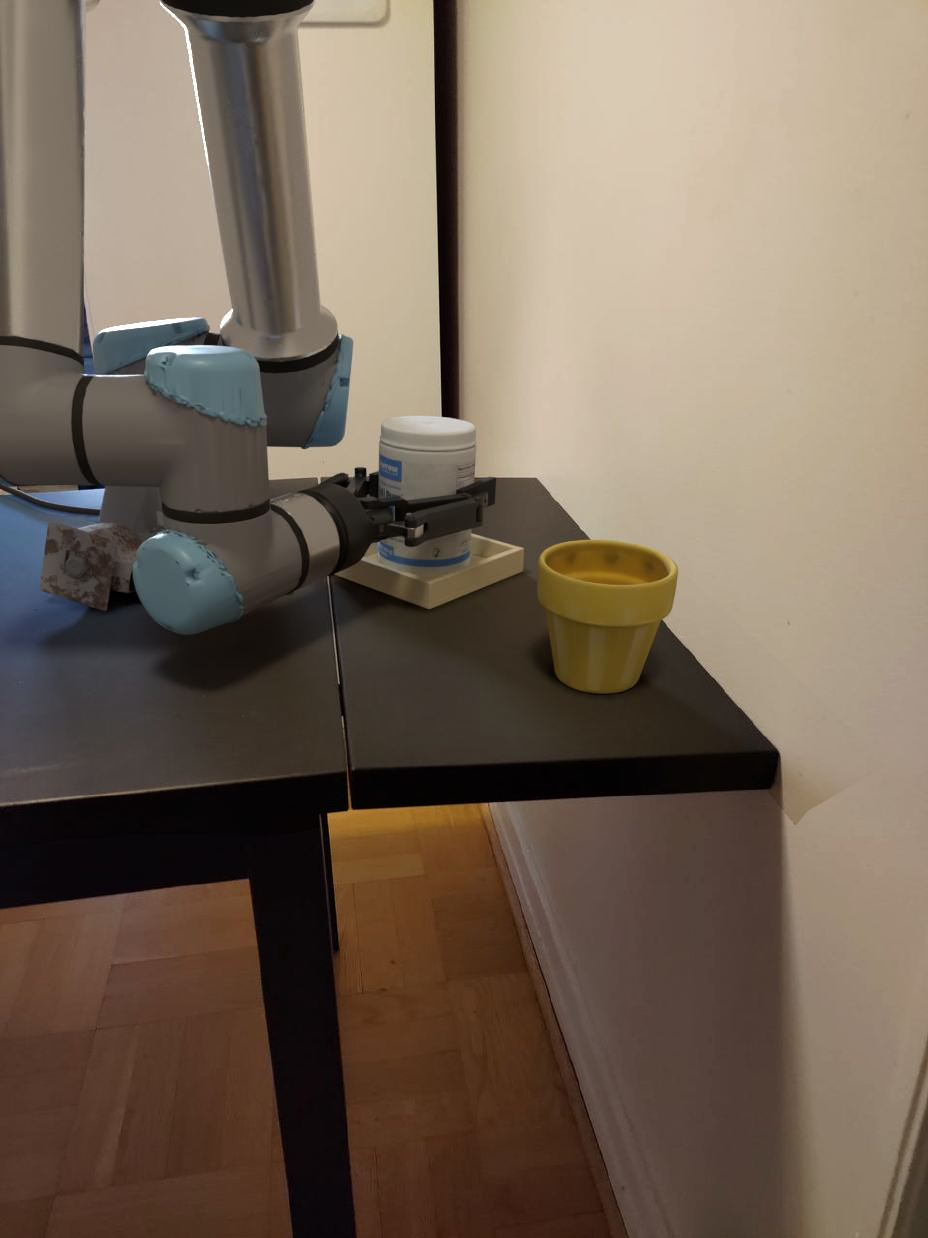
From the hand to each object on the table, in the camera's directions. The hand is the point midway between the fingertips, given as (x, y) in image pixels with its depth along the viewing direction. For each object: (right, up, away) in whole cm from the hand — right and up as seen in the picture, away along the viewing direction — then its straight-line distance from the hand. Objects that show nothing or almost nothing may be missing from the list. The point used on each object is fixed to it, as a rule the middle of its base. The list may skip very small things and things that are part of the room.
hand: (449, 482), depth 89 cm
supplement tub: (-3, -9, 0) cm, 9 cm away
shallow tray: (-3, -9, 0) cm, 10 cm away
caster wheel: (-30, -12, -7) cm, 33 cm away
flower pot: (+12, -19, -21) cm, 31 cm away
